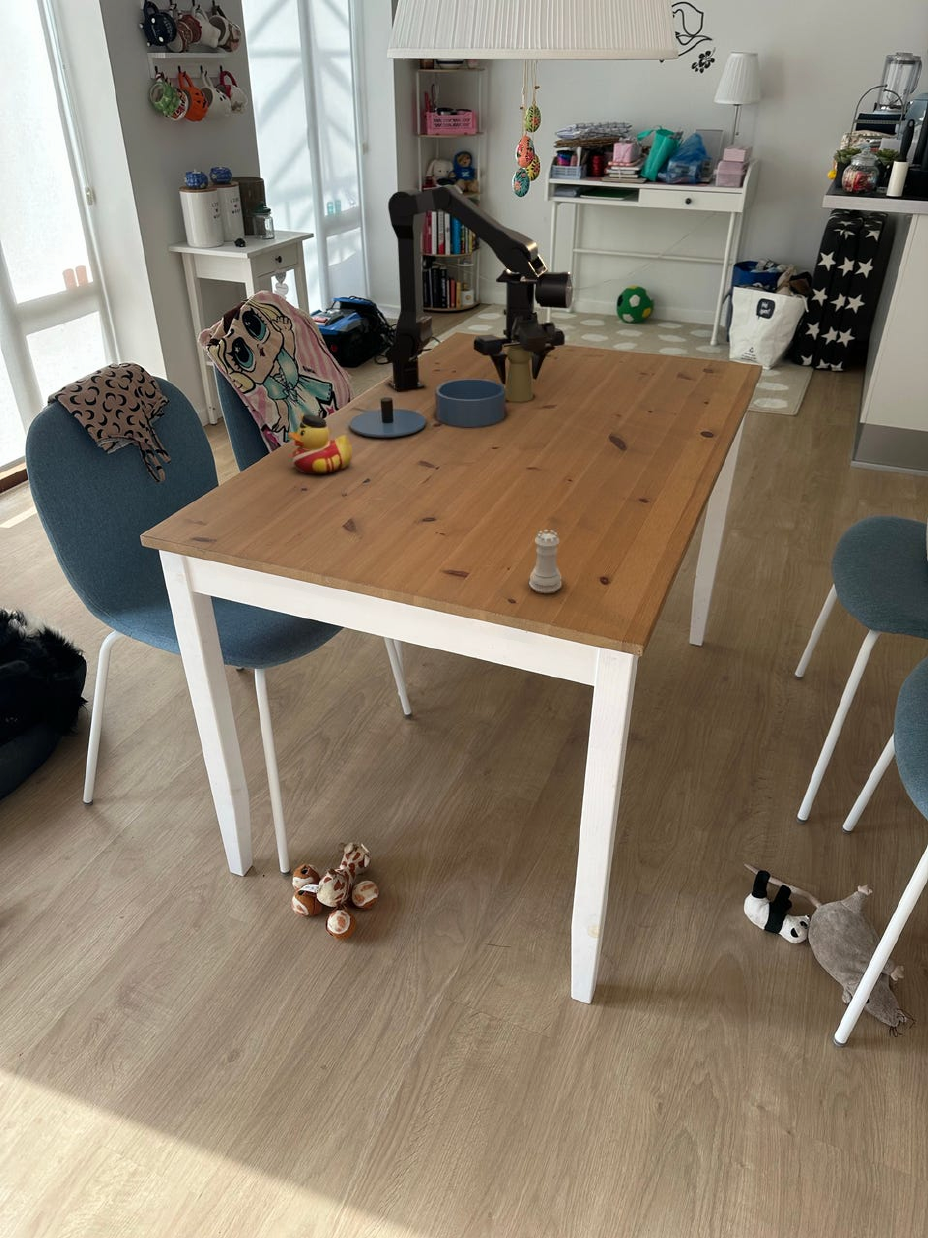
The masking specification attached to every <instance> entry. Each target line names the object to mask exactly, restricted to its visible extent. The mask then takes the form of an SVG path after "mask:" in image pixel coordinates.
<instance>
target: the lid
mask: <svg viewBox="0 0 928 1238" xmlns="http://www.w3.org/2000/svg"><path fill="white" fill-rule="evenodd" d="M379 401H380V409H375V410H369V411H366V412H363V413H359V414H357V415H356V416H354V417H352V419H350V421H349V427H350V429H351V430H352V431H353V432H354V433H356V434H359V435H362V436H366V437H370V438H371V437H373V438H396V437H397V438H398V437H403V436H407V435H412V434H414V433H417V432H418V431H421V430H422V429H423V428H424V427H425V426H426V425H427V421H426V420H427V419H426V418H425V416H424V415H423V414H420V412H416V411H413V410H410V409H400V408H394V400H393V398H392V397H387V396H386V397H381V398H380V399H379Z"/></svg>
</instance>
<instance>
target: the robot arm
mask: <svg viewBox="0 0 928 1238" xmlns="http://www.w3.org/2000/svg"><path fill="white" fill-rule="evenodd" d="M387 209H388V215H389V219H390V224H391V227H392V229H393V232H394V234H395V236H396V240H397V256H398V258H397V259H398V279H399V299H400V300H399V301H400V302H399V303H400V304H399V305H400V311H399V314H398V318H397V323H396V325H395V332H394V343H392V344H391V346H389V348H388V349H387V350H386V351H385V352H384V356H385V359H386V361H387V363H391V364H392V380H389V381H388V382H387V383H388V385H390V387H392V388H393V389H394V390H395V391H397V392H401V391H408V390H416V389H424V388H425V384H424V383H423V382H421V381H420V371H419V369H420V368H419V357H418V356H420V355H422V354H423V350H424V349H425V348H426V346H428V345H429V344H430V341H431V337H433V336H434V333H433V329H432V324H433V317H432V316H427V315H426V314H425V311H424V308H423V290H422V289H423V288H422V286H423V285H422V260H421V259H422V257H421V255H422V254H421V236H422V232H423V229H424V226H425V222H426V217H427V213H428V212H432V211H436V210H440V209H441V210H443V211H445V213H447V214H448V215H450V216H451V217H452V218H453V219H455V220H456V221H457V222H459V223H460V224H461V225H463V226H464V227H465V228H466V229H468V230H469V231H470V232H471V233H472V234H474V235H475V236H477V237H478V238H479V239H480V240H481V241H483V242H484V243H485V244H486V245H488V246H489V248H490V249H491V250H492V252H493V253H494V255H495V257H496V259H498V261H500V263H501V264H502V265H503V266H504V267H505V268H504V269H503V270H502V272H501V273H500V275H499V276H498V277H497V278H495V282H496V283H501V284H505V291H506V292H505V298H506V299H505V308H503V311H502V314H503V315H504V316H505V328H504V329H503V330H502V335H504V336H505V337H498V336H495V335H494V334H491V333H490V334H489V333H488V334H483V335H481V334H480V335H476V336H475V338H474V340H473V350H474V351H476V352H477V353H479V354H480V355H482V356H485V357H486V356H487V357H489V358H490V360H491V362H492V363H493V365H494V367H495V370H496V373H497V375H498V378H499V380H500V382H501V383H500V384H501V385H506V384H507V370H506V368H507V367H506V360H507V359H508V357H507V356H508V355H507V353H506V352H505V348H509V347H510V346H517V345H522V347H523V349H524V350H525V351H528V352H531V351H532V357H531V360H530V361H531V376H532V377H531V378H532V379H533V380H534V381H536V380H537V379H538V376H539V374H540V371H541V369H542V365H543V364H544V361H545V359H546V357H547V355H548V354H549V353H551V352H552V351H555V350H556V347H558V346H559V347H560V346H565V345H566V335H565V332H564V331H563V330H562V329H560V328H557V327H556V324H554V322H553V321H550V322H549V321H548V322H544V323H539V320H538V317H539V316H538V312H537V311H535V302H536V304H539V307H540V308H551V309H553V308H554V309H568V310H569V309H570V307H571V305H572V301H573V295H574V287H573V283H572V279H571V272H570V271H549V269H548V267H547V266H546V264H545V263H544V260H543V259H542V258H541V256H540V255H539V250H538V249H539V248H538V245H537V243H536V241H535V240H534V239H532V238H531V237H528V236H527V235H525V234H523V233H521V232H519V231H516V230H514V229H511V228H508V227H506V226H504V225H502V223H500V222H499V221H497V220H496V219H494V217H492V216H490V214H488V213H487V212H486V211H484V210H483V209H482V208H481V207H479V206H478V205H477V204H475V202H473V201H471V200H470V199H469V198H468V197H466V196H465V195H464V194H463V193H461V192H460V191H459V190H458V189H457V187H456V186H455V185H453V184H444V185H442V186H438V187H435V188H431V189H427V190H420V189H418V188H417V187H409V188H405V189H402V190H398V191H396V192H394V193H393V194H392V195H391V196H390V198H389V199H388V202H387Z"/></svg>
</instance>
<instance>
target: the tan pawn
mask: <svg viewBox="0 0 928 1238" xmlns="http://www.w3.org/2000/svg"><path fill="white" fill-rule="evenodd" d="M506 354H507V355H508V356H507V360H508V361H509V363H508V364H509V365H508V369H507V376H506V383H505V400H507V401H509V402H513V403H522V402H529V401H531V400H532V399H533V397H534V396H533V387H532V385H533V384H532V377H531V376H532V375H531V367H530V366H531V365H530V361H532V360H531V357H532V351H531V352H528V351H525V350H524V349H523V347H522V345H517V346H510V347H508V349H507V352H506Z"/></svg>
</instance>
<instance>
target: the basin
mask: <svg viewBox="0 0 928 1238" xmlns="http://www.w3.org/2000/svg"><path fill="white" fill-rule="evenodd" d="M505 391H506V387H505V385H504V384H502V383H499V382H496V381H493V380H489V379H485V378H484V379H483V378H482V379H481V378H462V379H452V380H449V381H446V382H442V383H440V384H438V385H437V386H436V387H435V389H434V395H435V396H434V397H435V417H436V420H438V421H439V422H441V423H443V424H445V425H447V426H448V425H449V426H452V427H460V428H480V427H487V426H491V425H494V424H495V425H496V424H497V423H499V422H501V421H502V420H503V419H504V418H505V416H506V399H505Z"/></svg>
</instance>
